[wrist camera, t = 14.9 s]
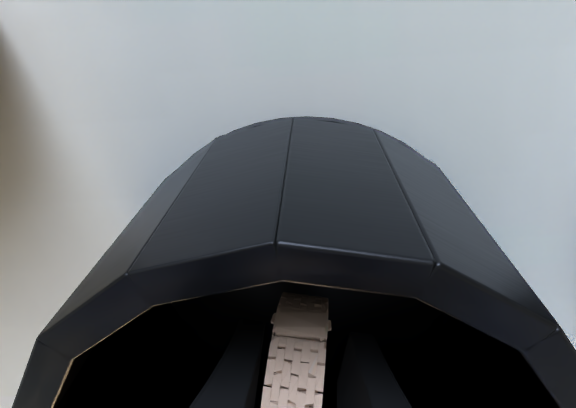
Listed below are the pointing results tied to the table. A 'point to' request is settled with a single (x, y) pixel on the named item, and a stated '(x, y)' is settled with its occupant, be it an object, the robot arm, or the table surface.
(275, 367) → the ring
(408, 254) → the pot
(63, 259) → the table surface
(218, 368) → the robot arm
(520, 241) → the table surface
